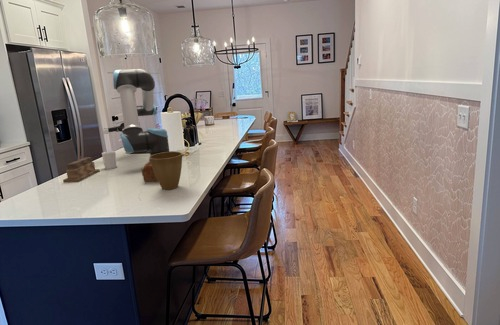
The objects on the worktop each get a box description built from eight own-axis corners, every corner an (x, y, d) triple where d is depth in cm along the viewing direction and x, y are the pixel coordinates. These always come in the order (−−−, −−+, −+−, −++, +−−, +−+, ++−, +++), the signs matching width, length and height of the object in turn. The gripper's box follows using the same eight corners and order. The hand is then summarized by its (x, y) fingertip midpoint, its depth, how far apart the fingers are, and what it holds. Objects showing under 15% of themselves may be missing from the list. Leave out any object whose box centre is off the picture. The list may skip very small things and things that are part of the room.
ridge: (85, 172, 203) (82, 156, 201) (99, 171, 202) (97, 156, 200) (63, 182, 181) (60, 165, 179) (79, 181, 181) (76, 164, 178)
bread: (162, 182, 170) (160, 163, 167) (142, 183, 170) (139, 164, 168) (172, 172, 188) (170, 155, 186) (153, 173, 188) (151, 156, 186)
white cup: (106, 166, 214) (104, 151, 212) (119, 165, 215) (116, 150, 212) (102, 169, 207) (99, 153, 204) (115, 168, 207) (112, 152, 205)
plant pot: (151, 186, 162) (147, 154, 159) (182, 181, 168) (178, 150, 164) (156, 194, 149) (151, 160, 145) (188, 188, 154) (185, 155, 151)
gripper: (144, 131, 236) (132, 136, 216) (110, 133, 238) (95, 138, 218) (143, 120, 234) (130, 124, 214) (109, 122, 236) (93, 126, 216)
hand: (112, 131), depth 216 cm, fingers open, 13 cm apart
